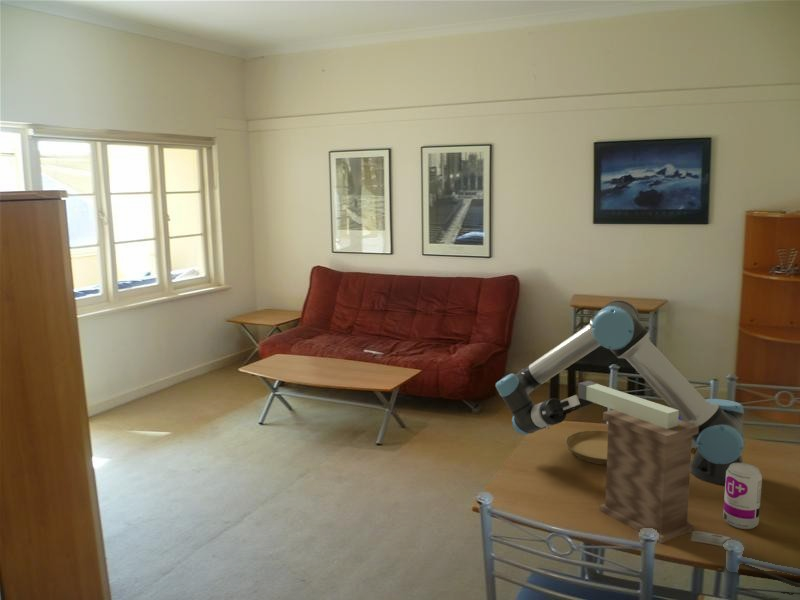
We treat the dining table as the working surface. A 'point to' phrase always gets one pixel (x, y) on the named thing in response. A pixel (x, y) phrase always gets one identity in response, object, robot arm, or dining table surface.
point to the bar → (629, 404)
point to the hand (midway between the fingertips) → (595, 395)
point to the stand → (648, 474)
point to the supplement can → (742, 495)
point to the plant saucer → (589, 445)
